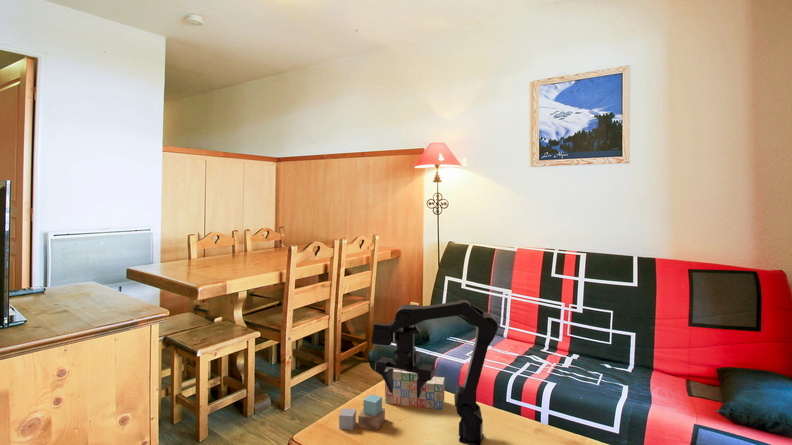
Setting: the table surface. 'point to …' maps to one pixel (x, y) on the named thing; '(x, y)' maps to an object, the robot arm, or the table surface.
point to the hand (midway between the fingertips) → (404, 395)
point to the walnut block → (371, 420)
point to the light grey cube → (347, 419)
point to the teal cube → (372, 405)
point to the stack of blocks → (415, 391)
